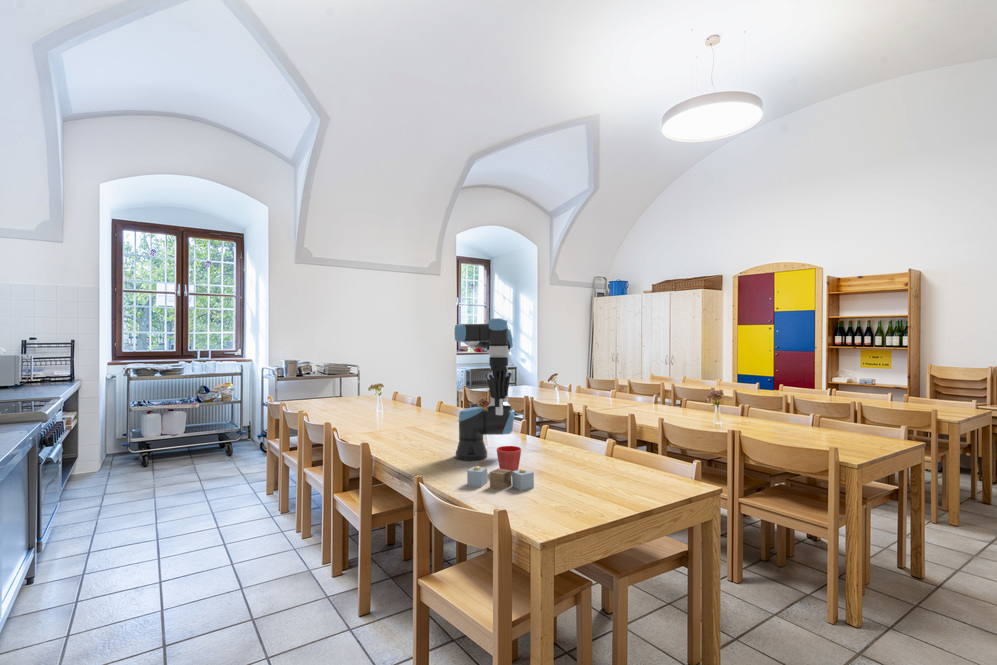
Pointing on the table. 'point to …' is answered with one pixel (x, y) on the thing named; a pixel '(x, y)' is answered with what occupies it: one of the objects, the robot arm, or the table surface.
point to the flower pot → (509, 457)
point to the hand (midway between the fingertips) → (499, 414)
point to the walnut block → (500, 479)
